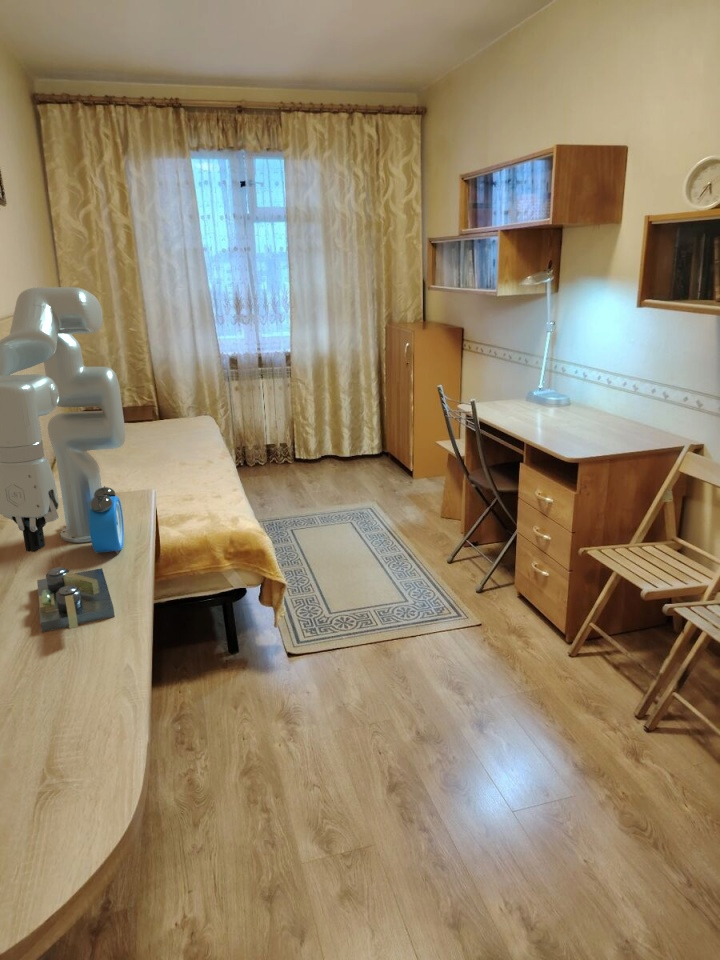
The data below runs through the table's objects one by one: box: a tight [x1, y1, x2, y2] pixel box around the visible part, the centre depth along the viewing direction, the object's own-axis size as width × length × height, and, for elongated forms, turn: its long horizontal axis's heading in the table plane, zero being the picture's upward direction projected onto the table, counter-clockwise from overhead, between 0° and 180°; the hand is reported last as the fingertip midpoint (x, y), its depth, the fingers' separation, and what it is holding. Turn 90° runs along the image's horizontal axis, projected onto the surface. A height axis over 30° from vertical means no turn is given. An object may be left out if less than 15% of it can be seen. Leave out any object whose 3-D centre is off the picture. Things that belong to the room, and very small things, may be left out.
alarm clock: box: [89, 485, 125, 556], centre depth 160 cm, size 13×6×15 cm, turn 13°
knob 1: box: [45, 566, 99, 595], centre depth 136 cm, size 13×4×4 cm, turn 64°
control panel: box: [36, 568, 115, 633], centre depth 136 cm, size 20×13×4 cm, turn 26°
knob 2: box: [56, 585, 82, 629], centre depth 127 cm, size 13×4×4 cm, turn 26°
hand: (35, 548), depth 123 cm, fingers closed
